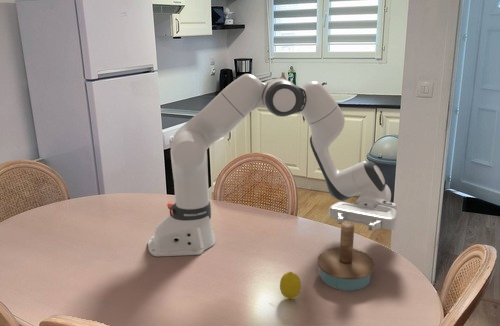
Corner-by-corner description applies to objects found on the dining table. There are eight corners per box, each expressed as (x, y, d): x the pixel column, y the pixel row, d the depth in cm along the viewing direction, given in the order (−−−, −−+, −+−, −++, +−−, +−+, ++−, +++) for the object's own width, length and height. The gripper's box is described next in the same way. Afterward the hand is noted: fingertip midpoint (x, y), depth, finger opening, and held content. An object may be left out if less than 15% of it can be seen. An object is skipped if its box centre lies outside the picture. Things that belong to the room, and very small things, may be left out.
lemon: (299, 306, 114) (300, 279, 112) (278, 303, 115) (278, 276, 113) (301, 294, 119) (302, 267, 117) (281, 291, 120) (281, 266, 118)
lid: (331, 283, 117) (333, 242, 113) (308, 254, 132) (310, 218, 128) (385, 274, 121) (388, 234, 117) (357, 247, 135) (359, 211, 132)
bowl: (333, 293, 119) (333, 280, 118) (313, 268, 132) (313, 256, 131) (379, 285, 122) (380, 273, 121) (355, 261, 135) (356, 249, 134)
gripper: (337, 193, 144) (321, 208, 133) (401, 205, 134) (390, 221, 123) (336, 211, 146) (321, 227, 135) (399, 223, 136) (389, 242, 125)
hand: (354, 224), depth 129 cm, fingers open, 8 cm apart
